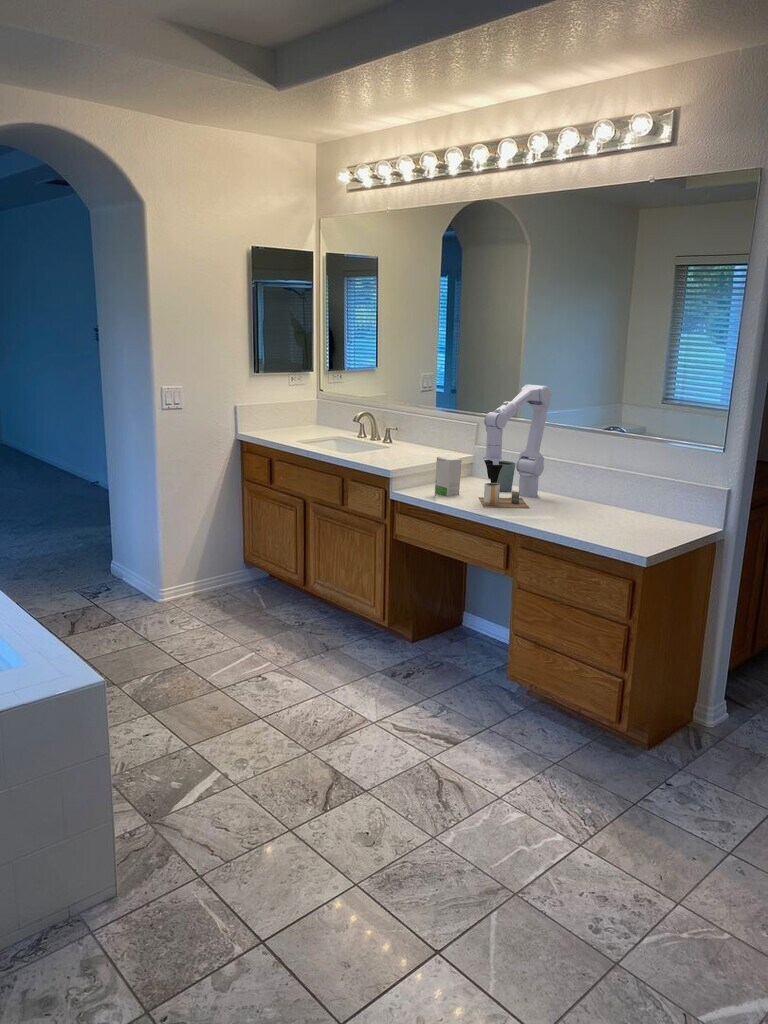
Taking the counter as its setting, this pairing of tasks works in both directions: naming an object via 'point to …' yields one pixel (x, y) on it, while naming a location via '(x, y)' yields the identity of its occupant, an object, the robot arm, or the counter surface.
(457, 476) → the skincare box
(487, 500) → the duct sleeve
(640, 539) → the counter surface
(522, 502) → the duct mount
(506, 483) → the green plant pot
